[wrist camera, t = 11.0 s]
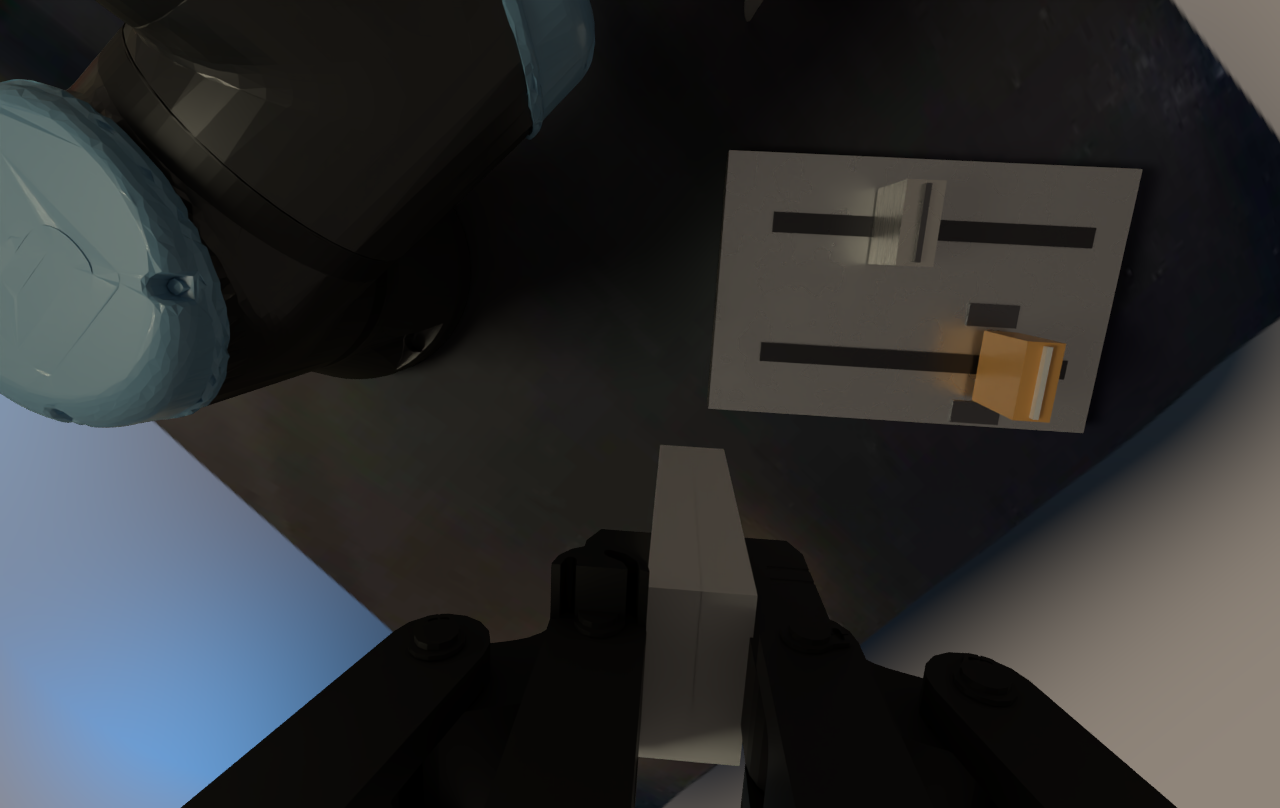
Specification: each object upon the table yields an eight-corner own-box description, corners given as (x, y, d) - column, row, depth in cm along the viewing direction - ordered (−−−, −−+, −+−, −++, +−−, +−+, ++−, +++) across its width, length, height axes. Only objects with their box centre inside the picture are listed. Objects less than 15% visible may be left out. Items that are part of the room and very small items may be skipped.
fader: (971, 400, 40) (1016, 422, 34) (984, 330, 39) (1032, 342, 33) (1004, 402, 40) (1053, 424, 34) (1017, 332, 39) (1070, 344, 33)
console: (707, 401, 43) (712, 431, 36) (726, 155, 40) (737, 132, 32) (1064, 424, 42) (1146, 460, 35) (1119, 173, 39) (1223, 154, 31)
